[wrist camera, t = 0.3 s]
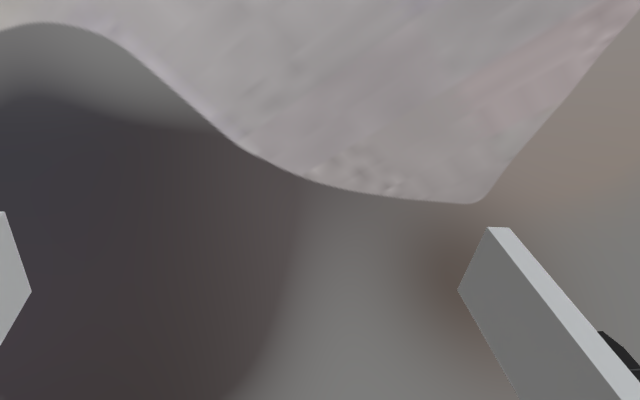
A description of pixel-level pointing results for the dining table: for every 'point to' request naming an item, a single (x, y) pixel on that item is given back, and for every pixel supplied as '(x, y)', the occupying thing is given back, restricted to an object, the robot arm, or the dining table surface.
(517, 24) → the dining table surface
